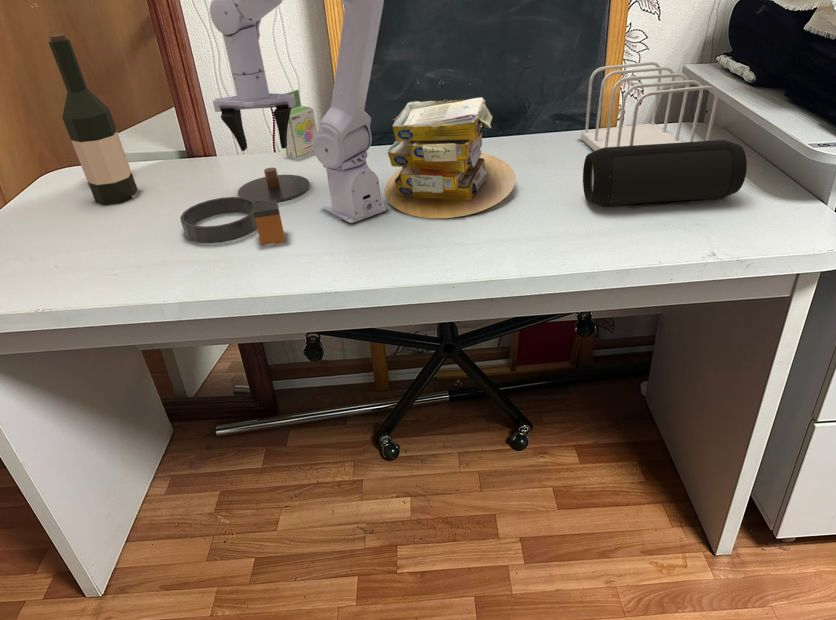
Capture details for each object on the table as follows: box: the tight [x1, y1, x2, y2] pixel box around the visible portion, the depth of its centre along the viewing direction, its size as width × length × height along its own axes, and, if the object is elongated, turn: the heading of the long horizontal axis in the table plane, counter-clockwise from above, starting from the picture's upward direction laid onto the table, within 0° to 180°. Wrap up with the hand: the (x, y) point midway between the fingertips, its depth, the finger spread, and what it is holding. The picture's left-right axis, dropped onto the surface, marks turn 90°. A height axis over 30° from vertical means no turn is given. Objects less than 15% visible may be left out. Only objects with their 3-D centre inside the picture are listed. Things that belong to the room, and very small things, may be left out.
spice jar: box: [253, 200, 286, 246], centre depth 104 cm, size 4×4×6 cm
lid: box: [237, 167, 311, 203], centre depth 123 cm, size 14×14×5 cm
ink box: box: [284, 89, 318, 159], centre depth 139 cm, size 7×4×13 cm, turn 143°
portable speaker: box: [582, 139, 748, 208], centre depth 108 cm, size 26×10×10 cm, turn 92°
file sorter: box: [580, 61, 719, 152], centre depth 126 cm, size 25×17×16 cm
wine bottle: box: [48, 33, 138, 206], centre depth 119 cm, size 8×8×30 cm
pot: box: [179, 196, 257, 244], centre depth 110 cm, size 13×13×3 cm
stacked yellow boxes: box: [384, 96, 517, 219], centre depth 115 cm, size 25×25×17 cm
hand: (264, 148), depth 118 cm, fingers open, 7 cm apart
